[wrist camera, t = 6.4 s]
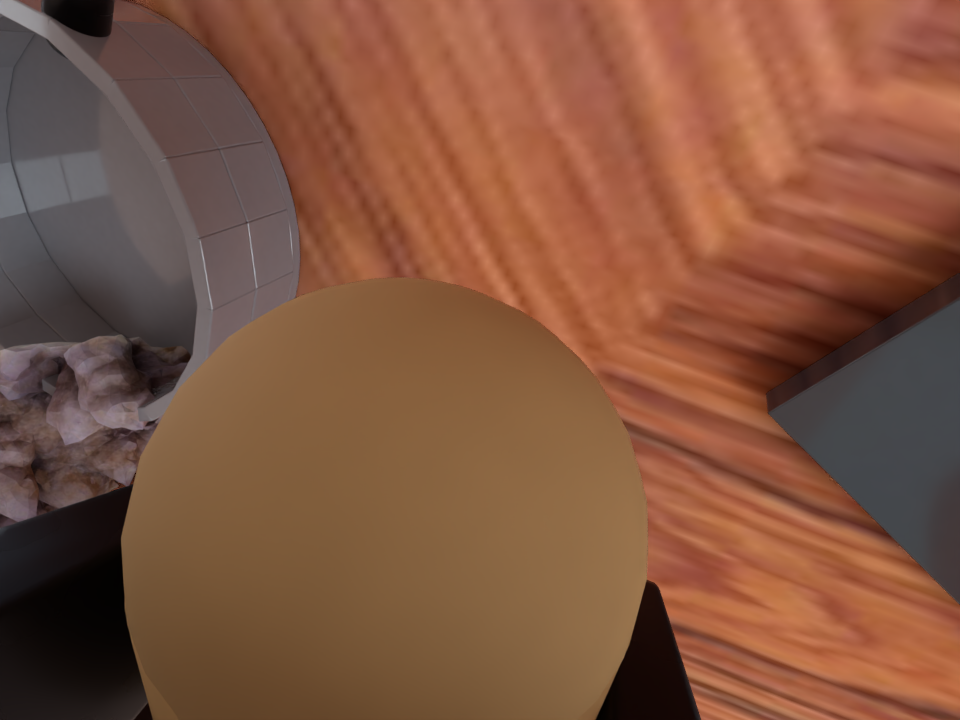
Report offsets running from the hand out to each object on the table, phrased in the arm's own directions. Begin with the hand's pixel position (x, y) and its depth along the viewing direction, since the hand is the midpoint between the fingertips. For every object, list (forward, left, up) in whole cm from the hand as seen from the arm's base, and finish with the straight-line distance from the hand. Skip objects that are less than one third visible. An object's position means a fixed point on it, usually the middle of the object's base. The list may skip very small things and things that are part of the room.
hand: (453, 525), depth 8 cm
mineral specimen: (-24, +12, -11) cm, 29 cm away
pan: (-11, +14, -11) cm, 21 cm away
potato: (0, 0, -1) cm, 1 cm away
